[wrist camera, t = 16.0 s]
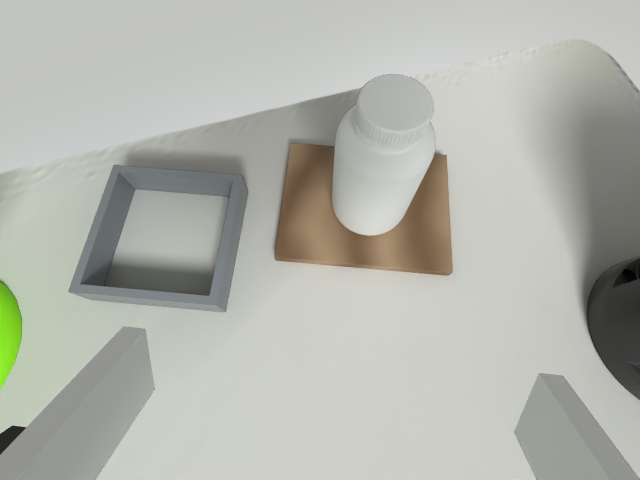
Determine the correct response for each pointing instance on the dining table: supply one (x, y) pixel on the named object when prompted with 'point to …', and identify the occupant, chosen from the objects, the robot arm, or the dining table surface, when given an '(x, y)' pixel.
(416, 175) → the pill bottle
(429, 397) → the dining table surface
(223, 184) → the bin
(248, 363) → the dining table surface
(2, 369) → the wineglass
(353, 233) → the board
